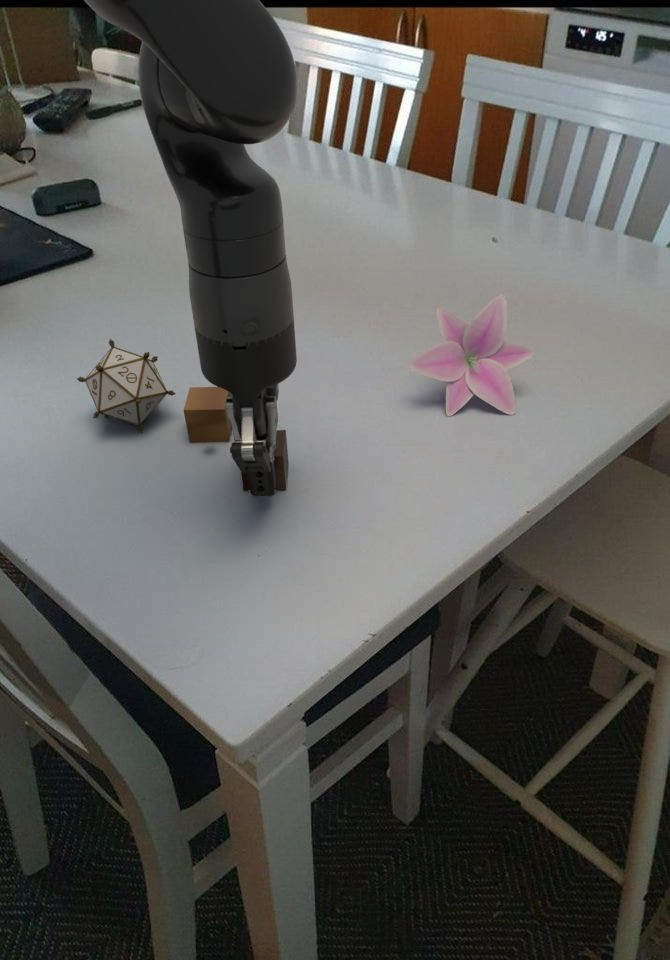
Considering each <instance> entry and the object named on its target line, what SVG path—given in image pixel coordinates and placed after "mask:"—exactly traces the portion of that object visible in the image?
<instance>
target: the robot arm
mask: <svg viewBox="0 0 670 960" xmlns="http://www.w3.org/2000/svg"><path fill="white" fill-rule="evenodd" d="M83 1H84V2H85V3H86V4H87V5H88V6H89V8H90V9H91V10H92V11H94V12H95V14H96V15H98V16H99V17H100V18H101V19H103V20H104V21H105V22H107V23H109V24H111V25H112V26H114V27H116V28H118V29H120V30H122V31H124V32H126V33H128V34H130V35H132V36H134V37H135V38H137V39H138V40H140V41H141V43H140V44H141V45H140V49H139V54H138V64H137V65H138V67H137V68H138V69H137V74H138V75H137V76H138V77H137V78H138V87H139V93H140V98H141V104H142V108H143V111H144V115H145V118H146V122H147V124H148V127H149V130H150V132H151V135H152V138H153V141H154V143H155V146H156V149H157V151H158V154H159V157H160V159H161V162H162V164H163V168H164V170H165V173H166V175H167V177H168V180H169V182H170V184H171V187H172V189H173V191H174V194H175V196H176V199H177V201H178V204H179V208H180V216H181V224H182V231H183V239H184V244H185V250H186V257H187V264H188V292H189V300H190V301H189V302H190V307H191V308H190V309H191V314H192V319H193V327H194V333H195V339H196V347H197V351H198V357H199V365H200V370H201V373H202V375H203V377H204V378H205V379H206V380H207V382H209V383H211V385H213V386H214V387H220V388H222V389H225V390H227V391H228V392H230V397H226V412H227V418H228V419H229V420H230V421H231V424H232V430H231V432H232V436H233V441H232V442H231V444H230V445H231V446H230V447H229V454H231V458H232V460H233V461H234V463H235V466H236V467H237V469H238V470H239V471H240V473H241V472H247V474H248V482H249V490H250V491H249V494H250V496H252V497H255V498H256V497H257V498H258V497H273V496H275V493H276V490H275V486H276V477H275V467H274V455H273V453H274V449H276V434H277V432H276V430H278V423H279V416H278V415H279V413H278V400H279V395H280V389H279V387H280V386H279V384H281V383H282V382H284V381H286V380H287V379H288V378H290V376H291V375H292V374H293V372H294V371H295V369H296V366H297V361H298V359H297V344H296V330H295V329H296V328H295V315H294V303H293V302H294V301H293V289H292V280H291V275H290V271H289V266H288V261H287V251H286V250H287V249H286V239H285V238H286V237H285V223H284V211H283V201H282V195H281V191H280V187H279V185H278V183H277V180H276V179H275V178H274V177H273V176H272V175H271V174H270V173H269V172H268V171H267V170H265V169H264V168H263V167H261V166H260V165H259V164H257V162H255V160H254V159H253V158H252V157H251V156H250V154H249V153H248V151H247V148H246V146H245V145H256V144H260V143H261V144H262V143H264V142H266V141H268V140H271V139H273V138H274V137H275V136H277V135H278V134H279V133H280V132H281V131H282V130H283V129H284V128H285V126H286V125H287V124H288V121H289V120H290V119H291V117H292V114H293V113H294V109H295V106H296V104H297V103H296V102H297V97H298V75H297V68H296V62H295V60H294V57H293V52H292V50H291V48H290V45H289V43H288V40H287V38H286V36H285V34H284V33H283V31H282V29H281V27H280V25H279V24H278V23H277V21H276V19H275V18H274V17H273V15H272V14H271V13H270V11H269V10H268V9H267V8H266V6H264V4H263V3H262V1H261V0H83Z"/></svg>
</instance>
